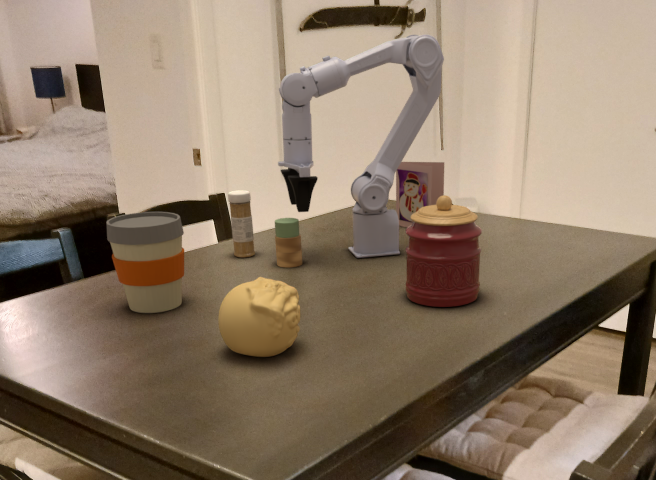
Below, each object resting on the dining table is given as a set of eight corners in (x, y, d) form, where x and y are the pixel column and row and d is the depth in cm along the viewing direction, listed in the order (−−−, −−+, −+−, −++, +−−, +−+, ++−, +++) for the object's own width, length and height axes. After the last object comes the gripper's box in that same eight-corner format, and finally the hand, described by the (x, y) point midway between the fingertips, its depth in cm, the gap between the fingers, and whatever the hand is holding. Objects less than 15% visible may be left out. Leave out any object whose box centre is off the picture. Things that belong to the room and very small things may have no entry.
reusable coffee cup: (103, 312, 131) (88, 225, 124) (147, 290, 141) (135, 209, 135) (164, 319, 126) (152, 230, 120) (205, 297, 137) (196, 213, 131)
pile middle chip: (293, 245, 158) (292, 230, 157) (306, 250, 154) (305, 235, 153) (271, 249, 155) (270, 234, 154) (283, 254, 151) (282, 239, 150)
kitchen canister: (449, 313, 126) (452, 206, 119) (390, 298, 134) (389, 197, 127) (493, 294, 135) (498, 193, 127) (435, 281, 143) (437, 185, 135)
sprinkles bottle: (248, 251, 166) (242, 188, 160) (259, 255, 162) (254, 191, 157) (229, 255, 163) (223, 191, 157) (240, 259, 160) (234, 194, 154)
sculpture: (291, 366, 107) (286, 293, 103) (210, 362, 109) (202, 290, 105) (311, 337, 118) (307, 269, 113) (236, 334, 120) (230, 267, 115)
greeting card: (393, 225, 185) (393, 162, 179) (414, 220, 190) (415, 158, 183) (428, 233, 177) (429, 167, 171) (449, 227, 182) (451, 163, 176)
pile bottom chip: (299, 259, 159) (299, 245, 157) (304, 266, 154) (303, 251, 153) (275, 261, 157) (274, 247, 156) (279, 268, 153) (278, 253, 152)
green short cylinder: (297, 231, 156) (296, 216, 155) (301, 236, 152) (300, 221, 150) (273, 233, 155) (272, 218, 154) (277, 238, 151) (276, 223, 149)
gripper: (271, 135, 156) (274, 202, 161) (283, 143, 143) (286, 216, 148) (305, 134, 157) (307, 200, 163) (320, 142, 145) (321, 214, 150)
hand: (299, 207), depth 156 cm, fingers open, 7 cm apart
